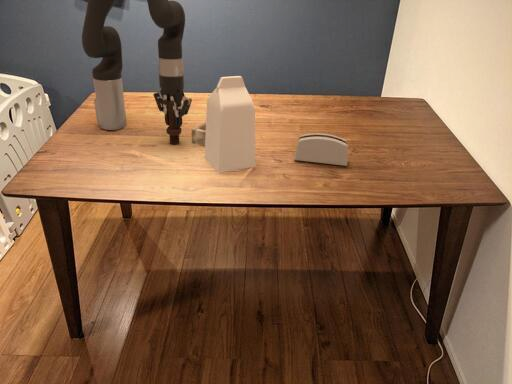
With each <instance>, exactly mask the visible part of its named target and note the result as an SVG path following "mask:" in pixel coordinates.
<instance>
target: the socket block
mask: <svg viewBox="0 0 512 384" xmlns="http://www.w3.org/2000/svg"><path fill="white" fill-rule="evenodd" d="M205 136H206V121H205V122H203V123H201V124H199V125H197V126H195V127H194V128H191V143H192V144H195V145H199V146H203V147H205Z"/></svg>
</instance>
